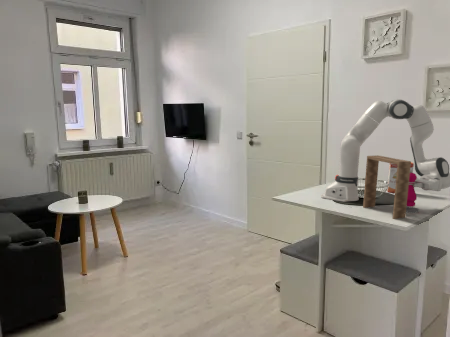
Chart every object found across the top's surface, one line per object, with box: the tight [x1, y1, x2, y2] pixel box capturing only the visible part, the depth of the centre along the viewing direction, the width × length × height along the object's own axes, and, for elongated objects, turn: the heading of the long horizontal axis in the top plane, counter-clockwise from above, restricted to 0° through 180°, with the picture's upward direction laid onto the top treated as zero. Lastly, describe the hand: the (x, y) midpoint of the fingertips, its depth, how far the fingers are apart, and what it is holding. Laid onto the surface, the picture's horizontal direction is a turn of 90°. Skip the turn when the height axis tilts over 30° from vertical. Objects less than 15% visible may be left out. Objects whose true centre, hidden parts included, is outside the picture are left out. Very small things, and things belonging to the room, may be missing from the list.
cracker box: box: [386, 161, 415, 194], centre depth 247 cm, size 14×6×21 cm, turn 73°
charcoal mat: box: [406, 206, 420, 214], centre depth 207 cm, size 11×11×1 cm
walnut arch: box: [362, 155, 412, 220], centre depth 199 cm, size 8×23×30 cm, turn 20°
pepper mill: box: [407, 170, 418, 208], centre depth 205 cm, size 7×7×20 cm
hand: (408, 184), depth 204 cm, fingers closed on pepper mill, 5 cm apart
